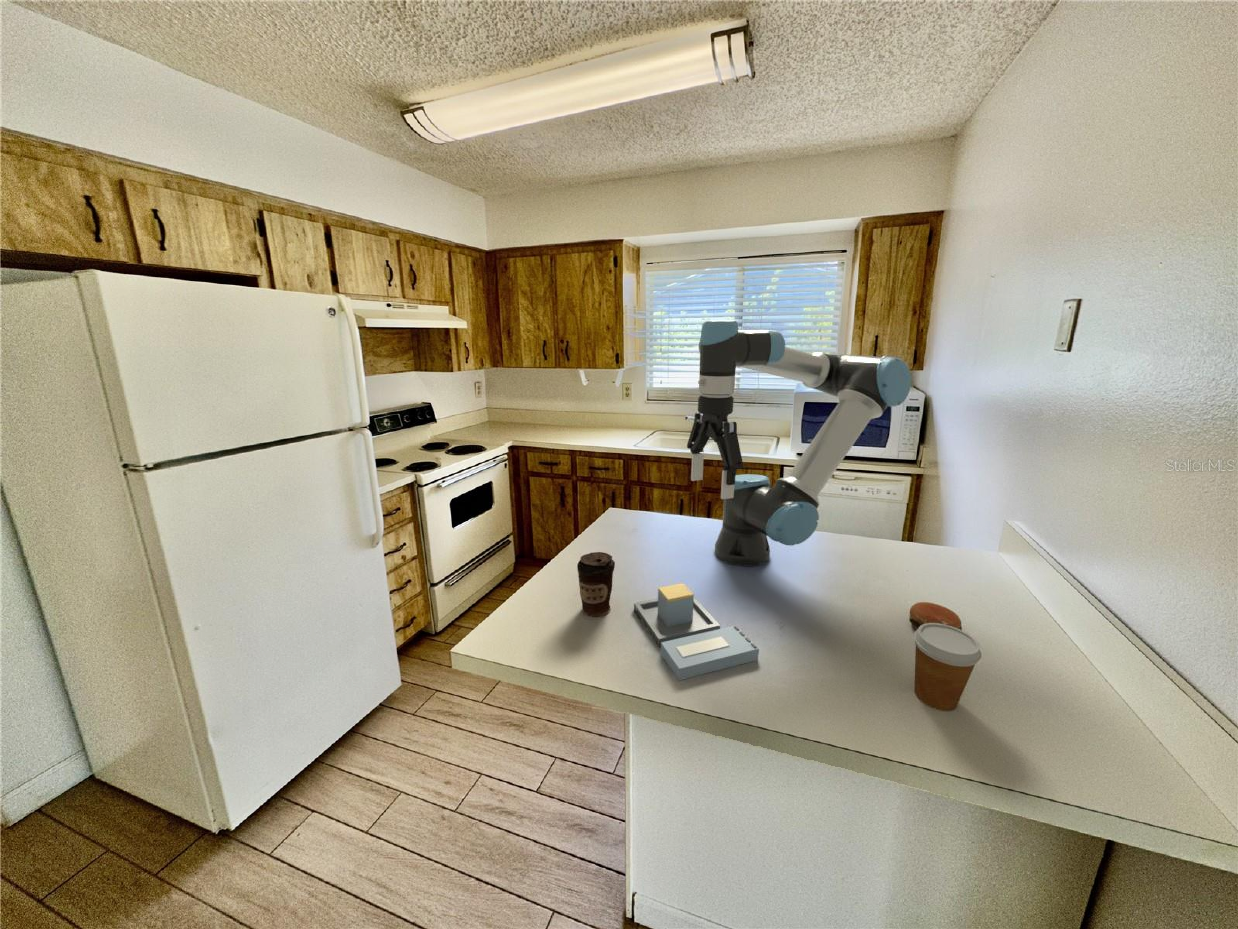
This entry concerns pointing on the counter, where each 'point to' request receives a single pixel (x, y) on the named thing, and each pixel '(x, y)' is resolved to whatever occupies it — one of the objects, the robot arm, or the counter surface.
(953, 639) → the disposable coffee cup
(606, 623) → the counter surface
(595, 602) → the coffee cup
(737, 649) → the blue labeled box
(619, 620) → the counter surface
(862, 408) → the robot arm
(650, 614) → the tray
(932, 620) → the burger
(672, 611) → the yellow topped blue block
